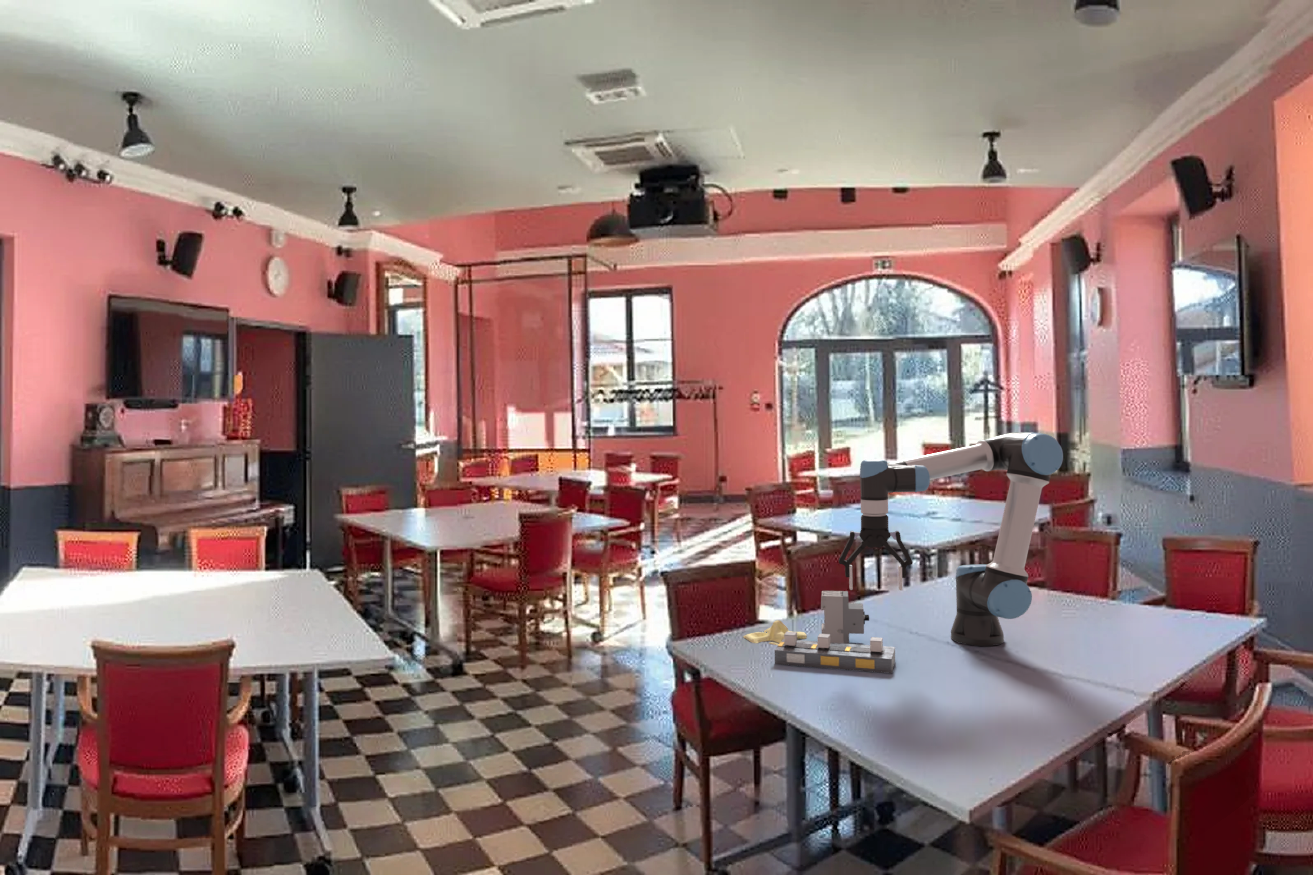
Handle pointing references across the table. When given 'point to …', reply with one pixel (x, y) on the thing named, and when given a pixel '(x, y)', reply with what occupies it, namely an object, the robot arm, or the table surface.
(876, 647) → the knob
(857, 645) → the console
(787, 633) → the knob
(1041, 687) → the table surface
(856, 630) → the circuit breaker
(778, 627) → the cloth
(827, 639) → the knob
